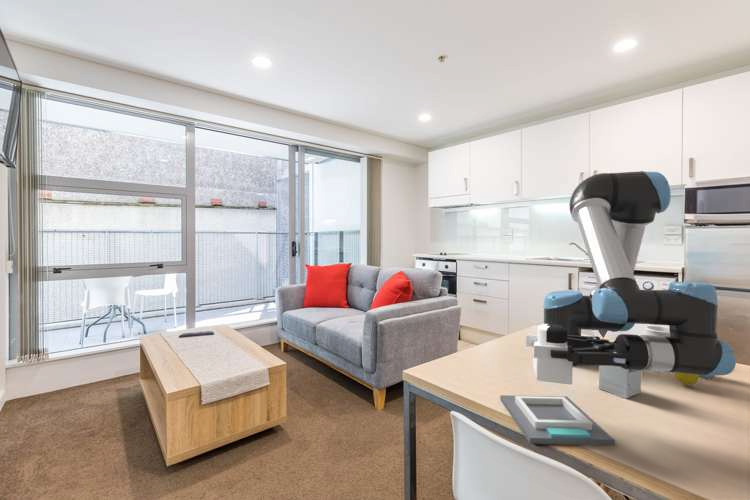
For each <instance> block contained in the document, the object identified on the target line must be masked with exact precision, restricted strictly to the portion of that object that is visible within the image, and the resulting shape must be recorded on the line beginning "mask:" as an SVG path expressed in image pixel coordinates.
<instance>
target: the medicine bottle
mask: <svg viewBox="0 0 750 500" xmlns="http://www.w3.org/2000/svg"><path fill="white" fill-rule="evenodd" d="M537 335H538V341H534V345H546V346H561V347H566V351H568V346H567V329H566V328H565V327H563V326H560V325H556V324H544V323H542V324H540V325H538V326H537ZM532 359H533V360H532V364H533V366H532V369H533V372H534V376H535V379H536V381H537V382H545V383H546V382H547V383H554V384H561V385H562V384H565V385H573V366H574V365H573V362H570V361H568V360H567V359H566V360H558V359H543V358H534V357H533V356H532Z"/></svg>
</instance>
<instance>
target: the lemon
mask: <svg viewBox="0 0 750 500" xmlns="http://www.w3.org/2000/svg"><path fill="white" fill-rule="evenodd" d="M673 375H674V378H676V380H677V381H679V382H680V383H681V384H682V385H684V386H685V387H688V386H691V385H695V384H696V383H698V382H699V379H700V375H697V374H686V373H675V372H673Z"/></svg>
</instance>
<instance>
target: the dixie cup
mask: <svg viewBox="0 0 750 500" xmlns="http://www.w3.org/2000/svg"><path fill="white" fill-rule="evenodd" d="M645 329H646V335H653V336H666V337H668V336H670V332H669V327H666V326H660V325H647V326H645Z"/></svg>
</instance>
